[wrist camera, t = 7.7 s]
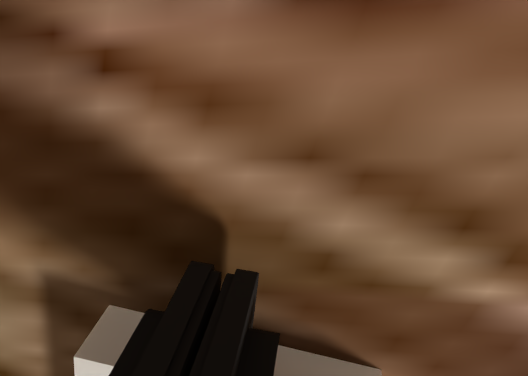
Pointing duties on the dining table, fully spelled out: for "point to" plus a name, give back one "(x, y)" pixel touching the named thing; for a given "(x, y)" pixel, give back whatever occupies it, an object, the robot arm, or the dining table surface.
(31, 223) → the dining table surface
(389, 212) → the dining table surface
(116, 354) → the white rectangular block
